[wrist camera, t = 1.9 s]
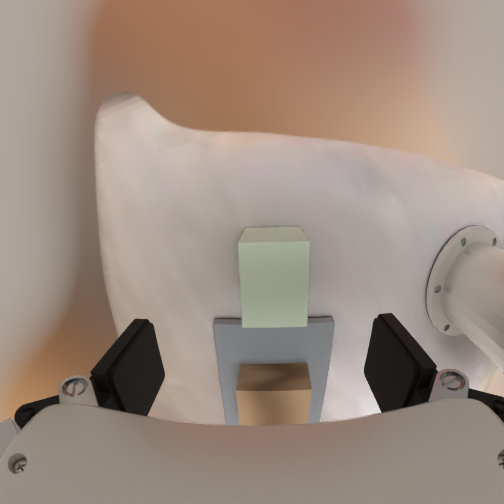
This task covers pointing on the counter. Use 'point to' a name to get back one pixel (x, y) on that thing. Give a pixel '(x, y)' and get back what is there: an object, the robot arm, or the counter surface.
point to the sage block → (274, 277)
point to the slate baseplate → (273, 356)
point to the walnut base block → (273, 394)
